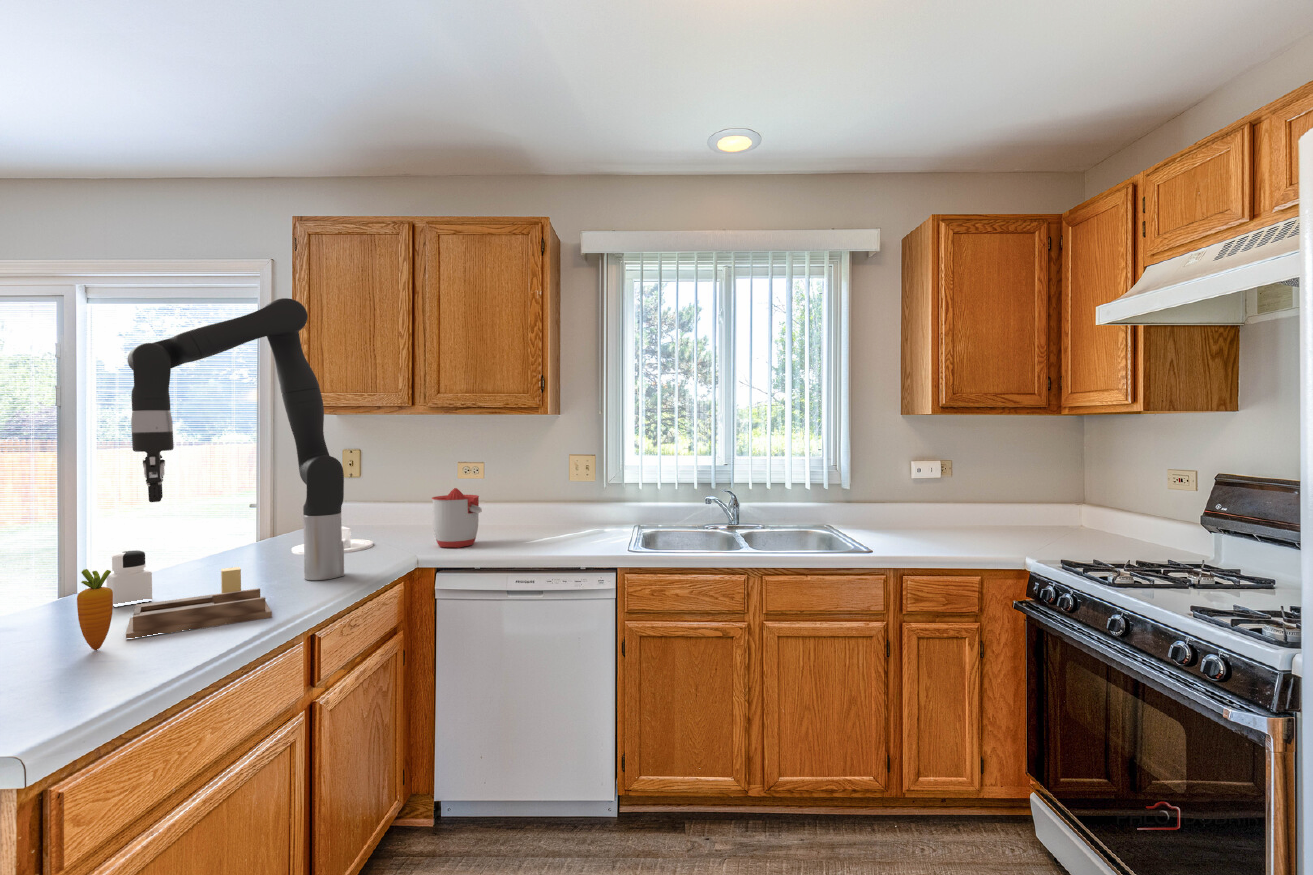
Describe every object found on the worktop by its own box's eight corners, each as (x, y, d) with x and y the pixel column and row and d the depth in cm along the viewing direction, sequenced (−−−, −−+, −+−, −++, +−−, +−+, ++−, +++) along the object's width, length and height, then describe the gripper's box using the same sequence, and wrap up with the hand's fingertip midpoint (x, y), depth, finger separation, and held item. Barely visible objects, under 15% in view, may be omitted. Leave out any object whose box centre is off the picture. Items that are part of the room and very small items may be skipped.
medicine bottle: (144, 597, 156) (143, 547, 156) (152, 601, 151) (151, 550, 151) (106, 603, 150) (105, 552, 150) (113, 608, 146) (112, 555, 146)
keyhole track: (264, 603, 148) (264, 586, 148) (271, 617, 137) (271, 598, 137) (130, 623, 134) (129, 604, 134) (126, 640, 123) (125, 619, 123)
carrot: (121, 645, 120) (119, 565, 119) (98, 654, 115) (97, 570, 114) (93, 646, 119) (92, 565, 119) (70, 655, 114) (68, 571, 114)
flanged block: (247, 597, 154) (247, 564, 154) (250, 603, 149) (250, 569, 149) (212, 602, 150) (211, 568, 150) (213, 609, 144) (213, 573, 144)
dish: (275, 552, 215) (274, 519, 215) (342, 541, 237) (341, 510, 237) (322, 558, 204) (321, 523, 203) (388, 545, 226) (387, 513, 226)
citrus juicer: (466, 550, 212) (465, 490, 212) (422, 548, 218) (421, 489, 217) (492, 542, 227) (492, 486, 227) (451, 540, 232) (450, 485, 232)
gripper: (172, 429, 145) (175, 501, 145) (173, 430, 157) (176, 496, 157) (129, 431, 141) (132, 504, 141) (133, 431, 152) (137, 499, 153)
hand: (156, 500), depth 149 cm, fingers open, 8 cm apart
